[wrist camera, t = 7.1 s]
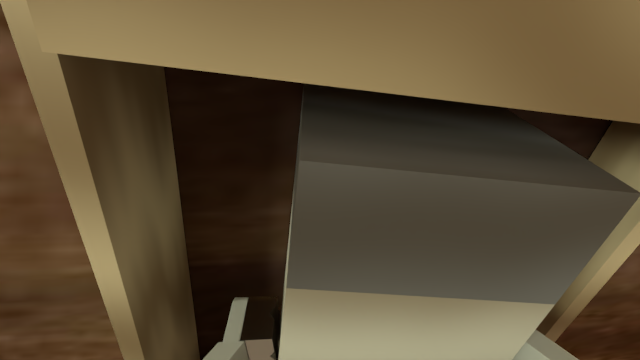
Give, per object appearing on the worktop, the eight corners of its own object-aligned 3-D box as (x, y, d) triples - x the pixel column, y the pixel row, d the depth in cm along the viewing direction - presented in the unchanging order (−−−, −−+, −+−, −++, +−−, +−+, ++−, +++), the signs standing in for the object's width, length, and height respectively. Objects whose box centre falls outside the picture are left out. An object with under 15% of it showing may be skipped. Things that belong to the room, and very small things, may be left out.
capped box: (389, 357, 17) (416, 481, 13) (277, 352, 16) (266, 480, 12) (497, 103, 10) (641, 193, 6) (303, 80, 9) (299, 160, 5)
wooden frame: (449, 393, 19) (482, 488, 16) (192, 384, 18) (162, 487, 14) (718, -11, 8) (1038, -7, 5) (113, -111, 7) (-100, -217, 3)
